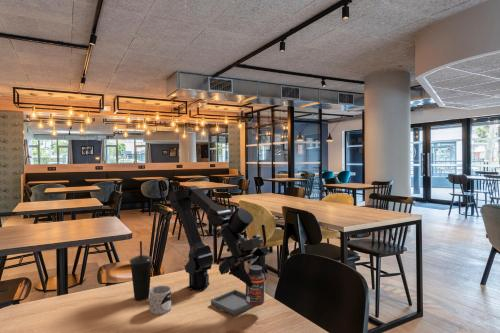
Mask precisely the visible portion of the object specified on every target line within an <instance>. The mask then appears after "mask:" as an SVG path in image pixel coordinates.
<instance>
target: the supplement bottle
mask: <svg viewBox="0 0 500 333" xmlns="http://www.w3.org/2000/svg"><path fill="white" fill-rule="evenodd" d="M248 269H249V270H248V272H247V274H248V276H249V278H250V280H251V282H252V284H253V286H252V287H250V286H248V285H247V284H245V294H246V303H247V304H249V305H251V306H254V307H258V306H263V304H264V303H265V289H266V286H265V285H266V280H265V276H266V275H265V276H264V274H263V273H262V267H261V266H258V265H253V266H249V268H248Z"/></svg>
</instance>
